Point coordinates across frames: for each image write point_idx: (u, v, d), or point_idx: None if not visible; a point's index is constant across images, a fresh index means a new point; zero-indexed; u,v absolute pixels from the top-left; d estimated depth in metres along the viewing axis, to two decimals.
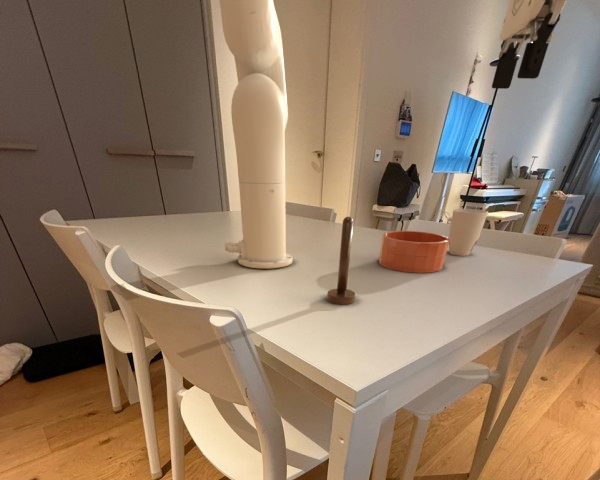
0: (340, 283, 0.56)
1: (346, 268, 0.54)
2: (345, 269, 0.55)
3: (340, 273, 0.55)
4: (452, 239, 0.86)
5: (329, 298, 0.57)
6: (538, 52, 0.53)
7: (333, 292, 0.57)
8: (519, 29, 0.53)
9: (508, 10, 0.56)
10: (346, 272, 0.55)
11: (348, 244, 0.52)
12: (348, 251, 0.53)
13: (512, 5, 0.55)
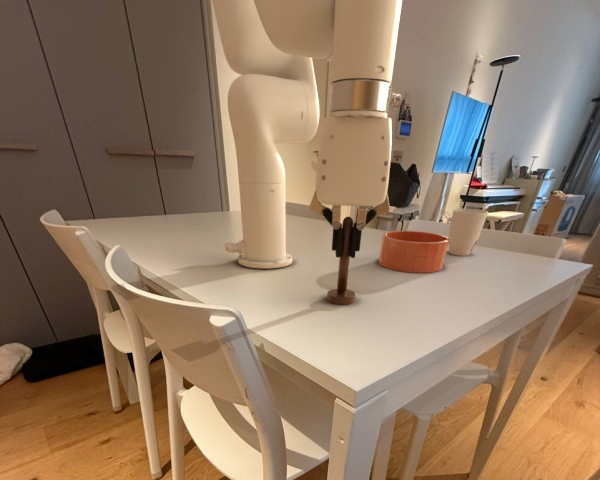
0: (340, 283, 0.56)
1: (346, 268, 0.54)
2: (345, 269, 0.55)
3: (340, 273, 0.55)
4: (452, 239, 0.86)
5: (329, 298, 0.57)
6: None
7: (333, 292, 0.57)
8: None
9: None
10: (346, 272, 0.55)
11: (348, 244, 0.52)
12: (348, 251, 0.53)
13: None
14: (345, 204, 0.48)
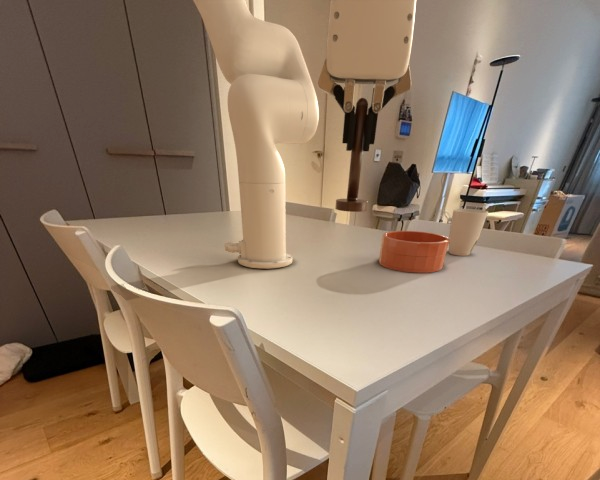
0: (351, 186, 0.49)
1: (358, 166, 0.48)
2: (357, 168, 0.48)
3: (351, 173, 0.48)
4: (452, 239, 0.86)
5: (338, 205, 0.50)
6: None
7: (342, 200, 0.51)
8: (343, 82, 0.45)
9: None
10: (358, 172, 0.48)
11: (361, 134, 0.45)
12: (361, 144, 0.46)
13: None
14: (360, 76, 0.41)
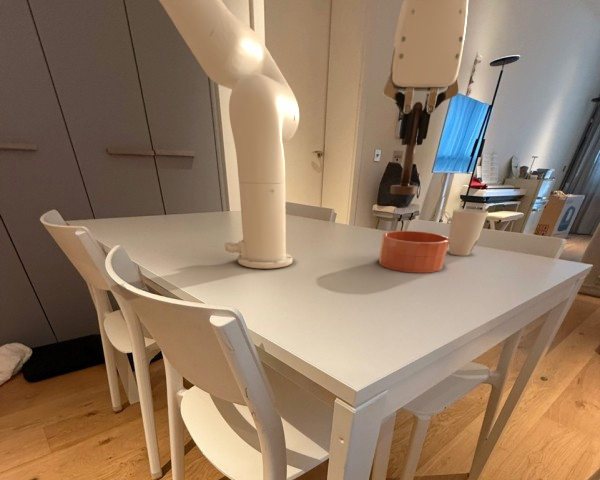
0: (405, 173, 0.60)
1: (412, 157, 0.58)
2: (411, 158, 0.59)
3: (406, 163, 0.59)
4: (452, 239, 0.86)
5: (393, 190, 0.61)
6: None
7: (397, 185, 0.61)
8: (402, 90, 0.56)
9: None
10: (411, 162, 0.59)
11: (416, 131, 0.56)
12: (415, 138, 0.57)
13: None
14: (418, 85, 0.52)
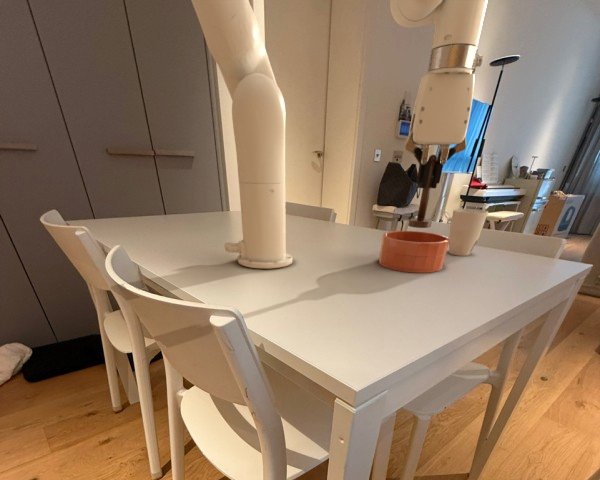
0: (421, 210, 0.72)
1: (427, 198, 0.70)
2: (426, 198, 0.70)
3: (422, 202, 0.71)
4: (452, 239, 0.86)
5: (411, 223, 0.73)
6: None
7: (414, 220, 0.73)
8: (419, 144, 0.68)
9: None
10: (427, 201, 0.71)
11: (431, 177, 0.68)
12: (430, 183, 0.69)
13: None
14: (434, 143, 0.64)
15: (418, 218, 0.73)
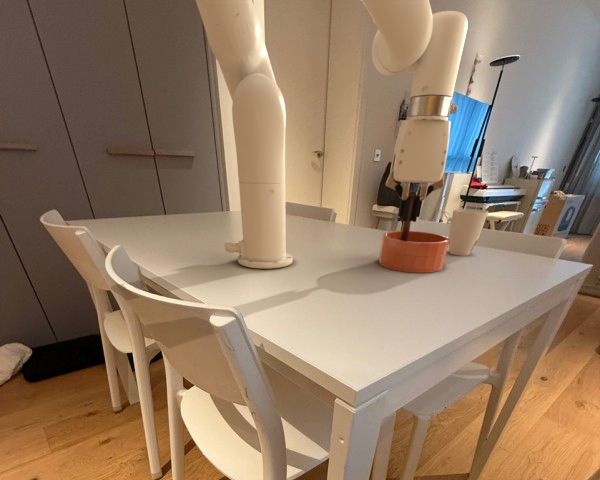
0: None
1: (408, 230, 0.75)
2: (407, 231, 0.75)
3: (403, 234, 0.75)
4: (452, 239, 0.86)
5: None
6: None
7: None
8: None
9: None
10: (407, 233, 0.75)
11: (411, 212, 0.72)
12: (411, 217, 0.73)
13: None
14: (413, 181, 0.68)
15: None
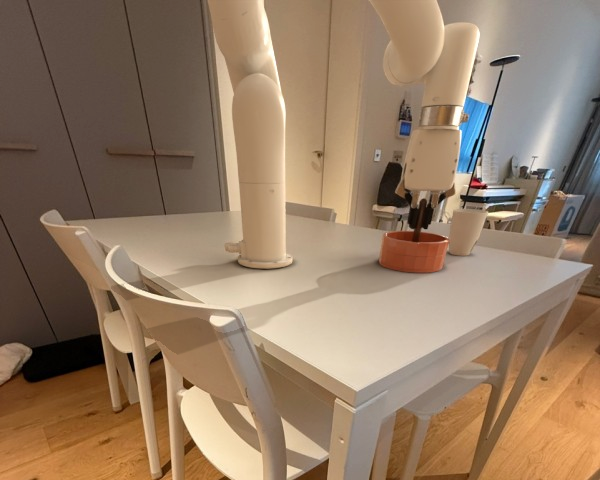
0: None
1: (418, 237, 0.75)
2: (417, 237, 0.75)
3: (413, 240, 0.75)
4: (452, 239, 0.86)
5: None
6: None
7: None
8: None
9: None
10: (418, 240, 0.75)
11: (422, 219, 0.73)
12: (421, 224, 0.73)
13: None
14: (424, 189, 0.69)
15: None
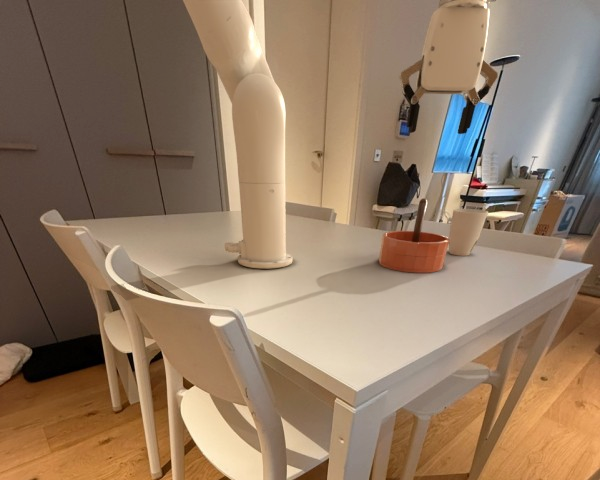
0: None
1: (418, 237, 0.75)
2: (417, 237, 0.75)
3: (413, 240, 0.75)
4: (452, 239, 0.86)
5: None
6: (411, 112, 0.63)
7: None
8: None
9: None
10: (418, 240, 0.75)
11: (422, 219, 0.73)
12: (421, 224, 0.73)
13: None
14: (444, 89, 0.60)
15: None
